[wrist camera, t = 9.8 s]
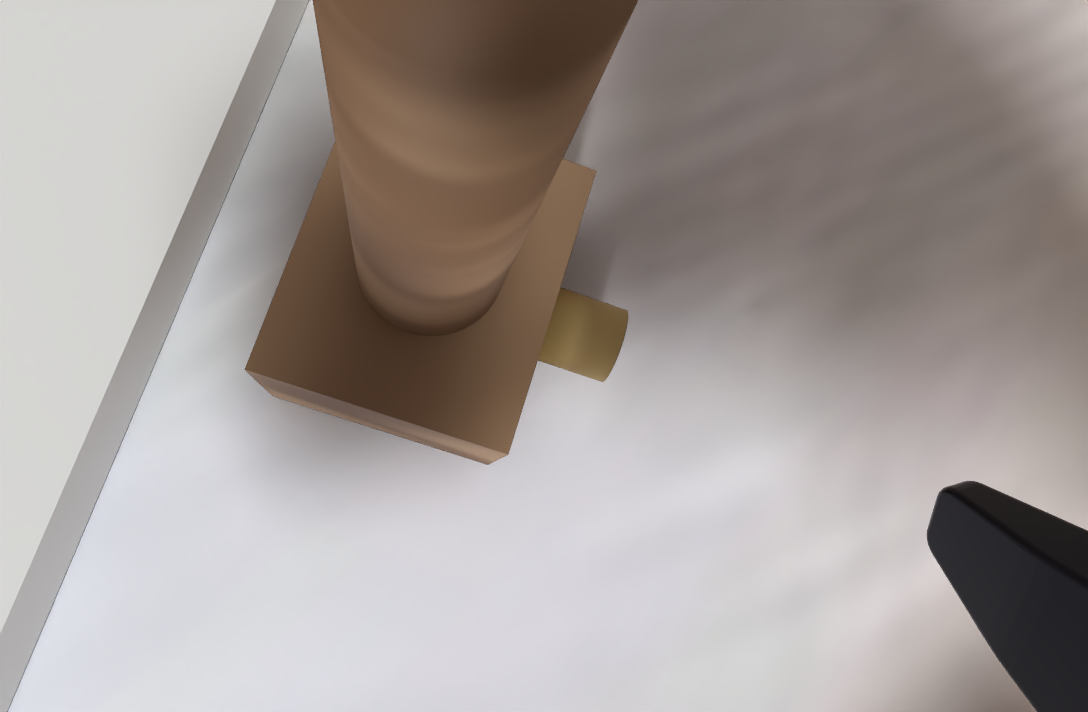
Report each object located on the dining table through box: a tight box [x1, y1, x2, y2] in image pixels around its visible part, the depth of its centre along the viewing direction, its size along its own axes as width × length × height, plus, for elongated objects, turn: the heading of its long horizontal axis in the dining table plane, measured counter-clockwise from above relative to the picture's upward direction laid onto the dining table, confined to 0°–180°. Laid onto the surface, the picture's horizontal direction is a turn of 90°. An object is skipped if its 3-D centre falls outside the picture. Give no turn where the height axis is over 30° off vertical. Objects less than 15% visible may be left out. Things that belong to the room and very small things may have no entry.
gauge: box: [245, 0, 638, 465], centre depth 13 cm, size 7×6×13 cm
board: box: [0, 0, 309, 712], centre depth 17 cm, size 7×24×2 cm, turn 163°
